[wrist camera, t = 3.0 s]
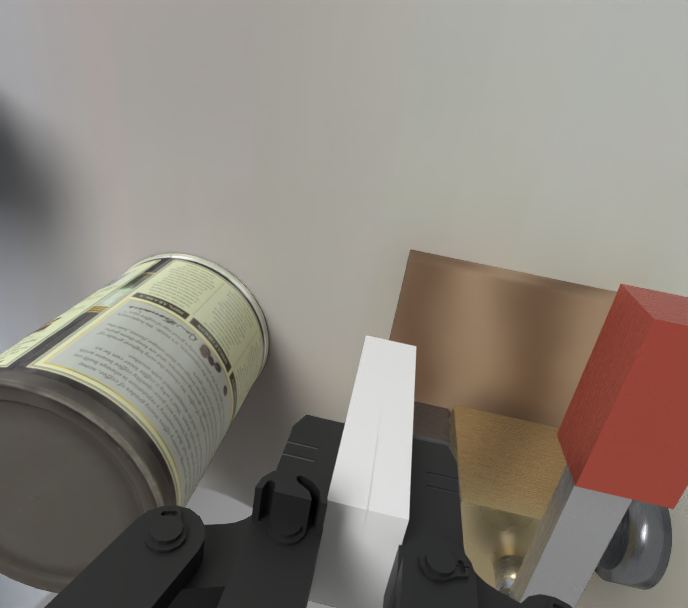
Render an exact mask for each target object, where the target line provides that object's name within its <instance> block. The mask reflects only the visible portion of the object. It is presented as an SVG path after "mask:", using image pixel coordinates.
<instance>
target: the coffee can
mask: <svg viewBox="0 0 688 608" xmlns="http://www.w3.org/2000/svg"><path fill="white" fill-rule="evenodd" d="M268 344H269V340H268V331H267V326H266V322H265V318H264V315H263V313H262V310H261V309H260V307H259V305H258V304H257V302H256V300H255V298H254V297H253V295H252V294H251V293H250V291H249V290H248V289H247V288H246V287H245V286H244V285H243V284H242V283H241V282H240V281H239V280H238V279H237V278H236V277H235V276H233V275H232V274H231V273H230V272H228V271H227V270H225V269H223V268H221V267H220V266H219V265H217V264H215V263H213V262H210V261H207V260H205V259H202V258H199V257H195V256H191V255H187V254H175V253H172V254H161V255H156V256H151V257H149V258H147V259H144V260H142V261H140V262H138V263H137V264H135V265H134V266H132V267H131V268H130V269H129V270H127V271H126V272H125V273H124V274H123V275H121V276H120V277H118V278H117V279H115V280H113V281H112V282H110V283H109V284H107V285H106V286H104V287H103V288H101V289H99V290H98V291H96V292H95V293H93V294H92V295H90V296H89V297H87V298H86V299H84V300H83V301H81V302H80V303H78V304H77V305H75V306H74V307H72V308H71V309H69V310H68V311H66V312H65V313H63V314H62V315H60V316H59V317H57V318H55V319H54V320H52V321H51V322H49V323H47V324H45V325H44V326H43V327H41V328H40V329H38V330H37V331H35V332H33V333H32V334H30V335H28V336H27V337H25V338H24V339H23V340H21V341H20V342H18V343H17V344H15V345H14V346H12V347H11V348H9V349H8V350H6V351H5V352H3V353H2V354H0V573H1V574H3V575H5V576H7V577H9V578H11V579H13V580H15V581H18V582H21V583H24V584H26V585H29V586H32V587H35V588H38V589H41V590H46V591H50V592H54V593H60V592H61V591H62V590H63V589H64V588H65V587H66V586H67V585H68V584H69V583H70V582H71V581H73V580H74V579H75V578H76V577H77V576H78V575H79V574H80V573H81V572H82V571H83V570H84V569H85V568H86V567H87V566H88V565H89V564H90V563H91V562H92V561H93V560H94V559H95V558H96V557H97V556H98V555H99V554H100V553H102V552H103V551H104V550H105V549H106V548H107V547H108V546H109V545H110V544H111V543H112V542H113V541H114V540H115V539H116V538H117V537H118V536H119V535H120V534H121V533H122V532H123V531H124V530H125V529H126V528H127V527H128V526H130V525H131V524H132V523H133V522H134V521H135V520H136V519H137V518H138V517H140V516H141V515H143V514H144V513H146V512H147V511H149V510H152V509H155V508H158V507H161V506H176V505H177V506H181V507H184V508H185V507H186V505H187V503H188V501H189V499H190V498H191V496H192V494H193V493H194V491H195V489H196V487H197V485H198V483H199V481H200V479H201V478H202V476H203V474H204V472H205V470H206V468H207V467H208V465H209V463H210V461H211V460H212V458H213V456H214V454H215V452H216V450H217V448H218V447H219V445H220V443H221V441H222V439H223V438H224V436H225V434H226V432H227V431H228V429H229V427H230V425H231V423H232V421H233V420H234V418H235V416H236V414H237V412H238V411H239V409H240V407H241V405H242V403H243V401H244V400H245V398H246V396H247V394H248V392H249V390H250V389H251V387H252V385H253V383H254V382H255V380H256V379H257V378H258V377H259V375H260V373H261V372H262V370H263V368H264V365H265V362H266V359H267V354H268Z"/></svg>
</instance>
